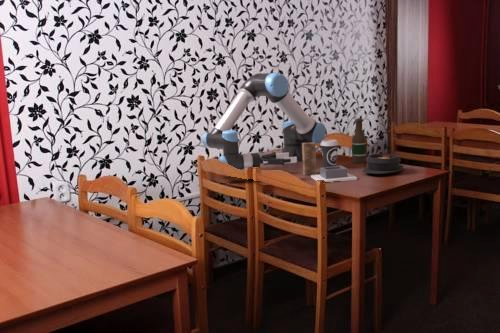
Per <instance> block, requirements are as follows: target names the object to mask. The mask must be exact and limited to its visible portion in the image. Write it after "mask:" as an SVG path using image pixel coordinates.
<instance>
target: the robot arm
mask: <svg viewBox="0 0 500 333" xmlns="http://www.w3.org/2000/svg"><path fill="white" fill-rule="evenodd" d="M288 83H289V81H288V79H287V77H286V76H285V75H284V74H282V73H280V72H269V73H268V72H267V73H255V74H252V75H251V76H249V77H248V78H247V79H246V80H245V81H244V82H243V83H242V84H241V85H240V87H239V88H238V90H237V95H236V96H235V98H234V99H233V100H232V102H231V103H230V104H229V106H228V107H227V109H226V110H225V112H223V114H222V115H221V117H220V118H219V120H218V121H217V123H216V124H215V125H214V127H213V128H212V130H210V132H205V133H204V134H203V135H202V139H201V142H202V144H203V146H204V147H206V148H209V149H218V150H223V151H222V153H223V154H222V155H221V156H219V159H218V161H219V160H220V161H221V162H226V163H227V164H229V165H231V166H233V167H235V168H237V169H240V170H239V171H241V170H245V168H247V167H259V168H260V167H261V165H262V164H263V165H264V166H267V165H270V166H271V165H276V166H278V165H280V166H281V165H282V166H285V164H296V163H298V162H303V156H302V143H310V142H314V143H315V145H317V144H319V145H320V144H321V142H322V140H325V137H326V134H327V130H326V129H327V128H326V126H325V124H324V123H321V122H317V121H316V119H314V117H313V116H309V115H308V114H307V113H306V112H305V110H304V109H303V108H302V107H301V106H300V104H299V103H298V101H297V100H295V99H294V97H293V96H292V95H291V93H290V92H289V91H290V88H289V84H288ZM257 97H266V98H267V99H268V100H269V101H270V102H271V103H273V104H276V105H277V106H278V107H279V109H280V110H281V111H282V112H283V113H284V114H285V115H286V116H287V117H288V119H289V120H285V121H284V122H283V127H282V128H283V129H282V131H283V149H282V152H280V153H279V152H278V153H276V152H275V151H274V152H272V153H271V152H270V153H266V154H261V155H260V154H259V152H253V153H240V152H239V151H240V150H239V147H240V146H239V135H238V131H237V130H234V129H233V130H232V128H233V127H234V126H235V124H236V122H238V120H239V118H240V117H241V116H242V114H243V113H244V111H245V110H246V108H247V107H248V106H249V104H250V103H252V102H254V100H255V99H256V98H257ZM239 153H240V154H239Z"/></svg>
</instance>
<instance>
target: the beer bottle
mask: <svg viewBox="0 0 500 333" xmlns="http://www.w3.org/2000/svg"><path fill="white" fill-rule="evenodd" d="M363 132H364V131H363V119H362V118H356V119H355V132H354V134H353V136H352V140H351V162H352V164H355V163H356V165H357V164H359V165H361V164H366V163H367V161H366V159H367V138H366V136H365V135H364V133H363Z"/></svg>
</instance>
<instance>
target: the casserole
mask: <svg viewBox="0 0 500 333" xmlns="http://www.w3.org/2000/svg"><path fill="white" fill-rule="evenodd" d="M401 161H402V160H401V158H400V156H399V155H398V154H395V153H373V154H369V155H367V157H366V163H367V166H365V167H364V168H363V169H362V173H365V174H371V175H372V174H373V175H392V174H396V173H398V172H401V171H402V170H403V168H405V166H404V165H403V164H400V162H401Z"/></svg>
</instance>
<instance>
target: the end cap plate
mask: <svg viewBox="0 0 500 333" xmlns="http://www.w3.org/2000/svg"><path fill="white" fill-rule="evenodd" d="M310 177H311V179H313V180H314V181H316V182H318V181H317V180H324V181H325V182H331V183H334V182H333V181H341V182H347V181H348V182H349V181H357V180H358V177H357V176H355V175H353V174H350V173H349V172H348V168H347V167H345V166H343V165H336V166H332V167H324V166H322V167H319V174H315V175H310Z"/></svg>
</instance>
